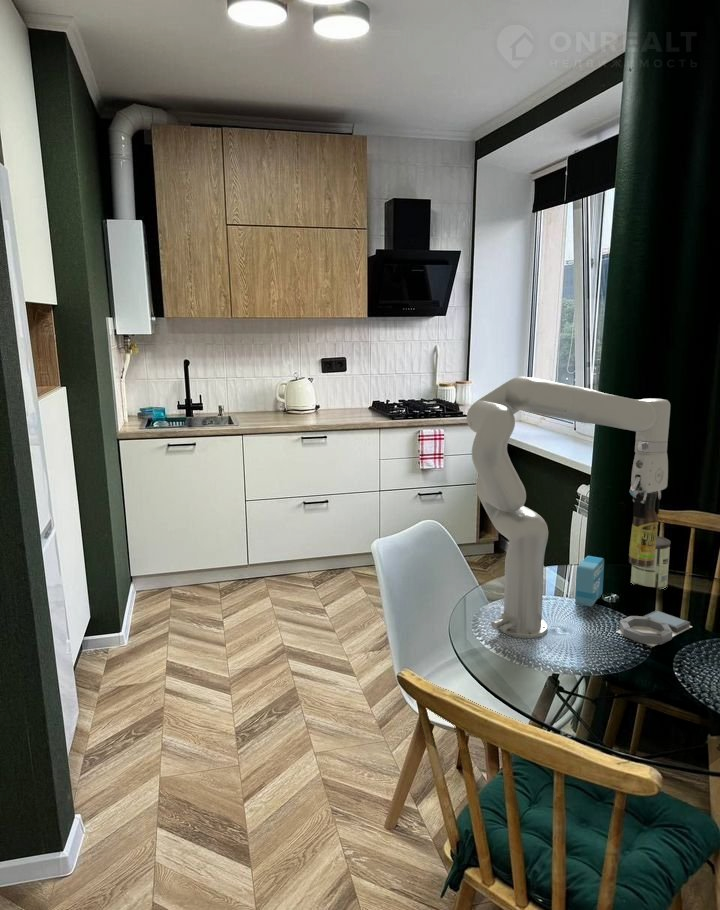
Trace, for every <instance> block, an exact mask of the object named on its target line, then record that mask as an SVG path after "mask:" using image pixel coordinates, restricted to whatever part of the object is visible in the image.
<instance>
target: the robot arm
mask: <svg viewBox="0 0 720 910" xmlns="http://www.w3.org/2000/svg"><path fill="white" fill-rule="evenodd" d="M519 411H521V412H526V413H529V414H535V415H541V416H543V417H545V416H546V417H551V418H557V419H562V420H567V421H572V422H577V423H582V424H593V425H599V426H606V427H611V428H617V429H620V430H621V429H622V430H628V431H632V432H635V443H634V444H635V445H634V453H635V454H634V457H633V458H634V459H633V462H632V463H633V464H632V467H631V468H632V469H631V479H630V480H631V481H630V489H629V491H628V492H629V493H630V495H631V498H632V502H633V506H632V516H634V517H638V518H643V519H644V518H645V517H646V504H647V503H645V500H646V496H647V493H652V492H657V498H656V501H655V512H656V514H657V515H659V513H660V503H661V502H660V500H661V499H662V493H663V491H664V490H665V489H667V488H668V481H669V459H668V441H669V440H668V439H669V429H670V417H671V403H670V401H669V400H668V399H663V398H656V397H655V398H651V397H650V398H642V399H634V398H629V397H624V396H619V395H616V394H615V395H614V394H609V393H606V392H605V393H604V392H601V391H599V390H594V389H590V388H587V387H582V386H577V385H571V384H566V383H562V382H555V381H553V380H548V379H547V380H546V379H543V378H536V377H528V376H516V377H514V378H511V379H509V380H508V381H506V382H505V383H503V384H501V385H500V386H498V387H496V388H495V389H494V390H492V391H490V392H488V393H487V394H485V395H484V396H481V398H479V399H478V400H475V402H473V404H471V405H470V407H469V408H468V410H467V414H466V423H467V426H468V427H469V428H470V430H472V431H473V432H474V433H476V434H475V436H474V439H473V443H472V447H471V458H472V462H473V465H474V467H475V470H476V472H477V475H478V476H477V479H476V481H475V489H476V490H475V491H476V494H477V497H478V499H479V501H480V503H481V504H482V507H483V508H484V510H485V512H486V514H487V516H488V518H489V519H490V521H491V524H492V525H493V526H494V528H495V530H496V531H497V532H498V533H499V534H500V535H502V536H503V537H504V538H506V539H507V540H508V548H507V551H506V555H505V560H504V590H503V591H504V593H503V598H504V599H503V600H504V601H503V611H502V612H501V617H500V618H498V619H496V620H494V621H491V623H490V625H491V628H492V629H493V630H497V629H499V630H500V631H501V633H503V634H505V635H507V636H510V637H513V638H518V639H535V638H540V637H542V635H543V636H544V635H545V633H546V634H547V633H548V630H547V629H548V627H549V626H548V624H547V622H546V621H545V620H544V619H542V618H543V591H544V590H543V588H544V564H545V563H544V562H545V554H546V547H547V544H548V539H549V529H548V527H549V526H548V524H547V522H546V521H545V519H544V518H543V517H542V516H541V515H540V514H538V512H536V511H534V510H533V509H530V508H529V507H527V506H525V503H526V500H527V491H526V488H525V486H524V484H523V482H522V480H521V479H520V476H519V474H518V472H517V471H516V469H515V467H514V465H513V463H512V461H511V458H510V456H509V453H508V443H509V441H510V437H511V436H512V434H513V432H514V430H515V425H516V418H515V414H517V413H518V412H519ZM641 490H643V491H641ZM640 493H643V494H642V497H641V495H640Z"/></svg>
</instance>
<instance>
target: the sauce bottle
mask: <svg viewBox="0 0 720 910" xmlns="http://www.w3.org/2000/svg"><path fill="white" fill-rule="evenodd" d="M640 490H641V491H643V489H640ZM639 494H640V495H641V497H642V494H643V493H639ZM656 498H657V492H652V493H647V496H646V500H645V503H647V504H646V517H645V518H644V519H643V518H638V517H634V516H633V515H632V516H633V517H632V518H633V519H632V525H631V532H630V533H631V534H630V541H629V548H628V549H629V551H628V552H629V553H628V556H629V557H628V563H629V564H631V566H632V565H635V566H639V567H650V566H653V564H654V558H655V549H656V540H657V536H658V531H659V530H658V529H659V515H658V514H656V512H655V501H656Z"/></svg>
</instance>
